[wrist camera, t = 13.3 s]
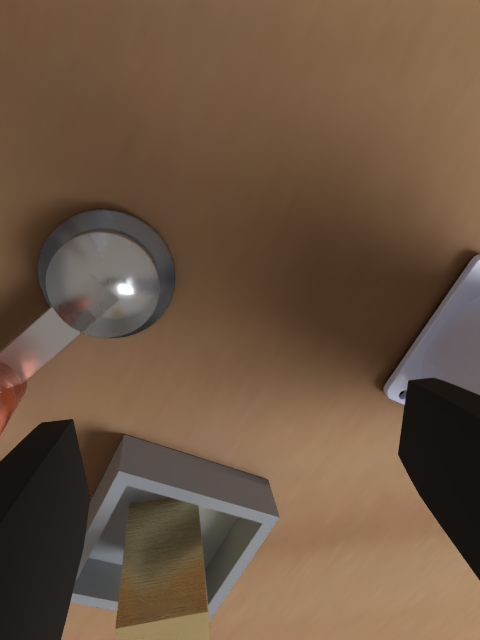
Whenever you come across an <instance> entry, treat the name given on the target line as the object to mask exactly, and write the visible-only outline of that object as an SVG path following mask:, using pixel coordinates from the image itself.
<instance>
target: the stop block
mask: <svg viewBox="0 0 480 640" xmlns="http://www.w3.org/2000/svg"><path fill="white" fill-rule="evenodd" d="M115 629H116V633H117V638H118V640H211V633H210V621H209V610H208V599H207V588H206V576H205V565H204V554H203V542H202V533H201V523H200V513H199V505H195V504H191V503H188V502H184V501H181V500H177V499H174V498H164V499H157V500H150V501H144V502H137V503H130V504H129V507H128V516H127V526H126V535H125V544H124V554H123V563H122V572H121V582H120V591H119V600H118V609H117V619H116V628H115Z"/></svg>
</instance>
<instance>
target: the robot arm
mask: <svg viewBox="0 0 480 640" xmlns="http://www.w3.org/2000/svg"><path fill="white" fill-rule="evenodd" d="M404 390H405V391H404ZM383 391H384V394H385V395H386V396H387V397H388V398H389V399H391V400H393V401H396V402H398V403H400V404H403V405H405V406H404V414H403V421H402V429H401V436H400V444H399V451H398V455H399V457H400V459H401V461H402V463H403V465H404V467H405V469H406V471H407V473H408V475H409V477H410V479H411V481H412V482H413V484H414V486H415V488H416V490H417V491H418V493H419V495H420V496H421V498H422V499H423V501H424V502H425V504H426V505H427V507H428V508H429V510H430V511H431V512H432V514H433V515H434V517H435V518H436V520H437V521H438V522H439V524H440V525H441V527H442V528H443V530H444V531H445V532H446V534H447V535H448V537H449V538H450V539H451V541H452V542H453V544H454V545H455V546H456V548H457V549H458V551H459V552H460V553H461V555H462V556H463V558H464V559H465V560H466V562H467V563H468V565H469V566H470V567H471V569H472V570H473V572H474V573H475V574H476V576H477V577H478V579H479V580H480V254H479V255H476V256H475V257H473V258H472V259H471V261H470V262H469V264H468V265H467V266H466V268H465V269H464V271H463V272H462V274H461V275H460V277H459V278H458V280H457V281H456V282H455V284H454V285H453V287H452V288H451V290H450V291H449V293H448V294H447V295H446V297H445V298H444V300H443V301H442V303H441V304H440V306H439V307H438V309H437V310H436V311H435V313H434V314H433V316H432V317H431V319H430V320H429V322H428V323H427V324H426V326H425V327H424V329H423V330H422V332H421V333H420V335H419V336H418V338H417V339H416V340H415V342H414V343H413V345H412V346H411V348H410V349H409V351H408V352H407V353H406V355H405V356H404V358H403V359H402V361H401V362H400V364H399V365H398V367H397V368H396V369H395V371H394V372H393V374H392V375H391V377H390V378H389V380H388V381H387V382H386V384H385V386H384V390H383ZM402 391H404V393H403V394H401V395H399V394H400V392H402ZM89 502H90V495H89V490H88V486H87V481H86V477H85V472H84V467H83V463H82V458H81V454H80V449H79V445H78V440H77V435H76V431H75V426H74V422H73V419H69V420H61V421H52V422H43V423H41V424H39V425H38V426H37V427H36V428H35V429H34V430H33V431H32V432H30V433H29V434H28V435H27V436H26V437H25V438H24V439H23V440H22V441H21V442H20V443H19V444H18V445H17V446H16V447H15V448H14V449H13V450H12V451H11V452H10V453H9V454H8V455H7V456H6V457H4V458H3V459H2V460H1V461H0V640H61V637H62V633H63V629H64V625H65V621H66V617H67V613H68V609H69V605H70V601H71V597H72V593H73V590H74V585H75V581H76V577H77V573H78V569H79V565H80V561H81V557H82V553H83V548H84V542H85V535H86V527H87V519H88V511H89Z"/></svg>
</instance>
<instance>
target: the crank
mask: <svg viewBox="0 0 480 640" xmlns="http://www.w3.org/2000/svg"><path fill="white" fill-rule="evenodd" d="M159 289H160V276H159V270H158V267H157V264H156V262H155V259H154V257H153V256H152V254H151V253H150V251H149V250H148V249H147V248H146V247H145V246H144V245H143V244H142V243H141V242H140V241H139V240H137V239H136V238H135V237H133V236H131V235H129V234H127V233H125V232H122V231H119V230H115V229H109V228H97V229H91V230H87V231H84V232H81V233H79V234H77V235H75V236H74V237H72V238H71V239H70V240H68V241H67V242H66V243H65V244H64V245H63V246H62V247H61V248H60V249H59V250H58V251H57V252H56V253H55V255H54V256H53V258H52V260H51V262H50V264H49V266H48V269H47V274H46V290H47V295H48V298H49V301H50V303H51V306H50V307H49V308H48V309H47V310H46V311H44V312H43V313H42V314H41V315H40V316H39V317H38V318H36V319H35V320H34V321H33V322H32V323H31V324H30V325H29V326H27V327H26V328H25V329H24V330H23V331H22V332H21V333H20V334H18V335H17V336H16V337H15V338H14V339H13V340H12V341H10V342H9V343H8V344H7V345H6V346H5V347H4V348H3V349H1V350H0V435H1V433H2V432H3V430H4V428H5V427H6V425H7V423H8V421H9V420H10V418H11V416H12V414H13V413H14V411H15V409H16V407H17V406H18V404H19V402H20V401H21V399H22V397H23V395H24V393H25V391H26V387H27V382H26V380H27V379H28V378H29V377H31V376H32V375H33V374H34V373H35V372H36V371H38V370H39V369H40V368H41V367H42V366H43V365H44V364H46V363H47V362H48V361H49V360H50V359H51V358H53V357H54V356H55V355H56V354H57V353H58V352H60V351H61V350H62V349H63V348H64V347H65V346H67V345H68V344H69V343H70V342H71V341H72V340H73V339H75V338H76V337H77V336H78V335H79V334H80V333H84V334H87V335H90V336H95V337H103V338H111V337H118V336H122V335H126V334H128V333H131V332H133V331H134V330H136V329H138V328H139V327H140V326H142V325H143V324H144V323H145V322H146V321H147V320H148V319H149V318H150V316H151V315H152V313H153V312H154V310H155V307H156V305H157V302H158V298H159Z"/></svg>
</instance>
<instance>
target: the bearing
mask: <svg viewBox="0 0 480 640" xmlns="http://www.w3.org/2000/svg"><path fill="white" fill-rule="evenodd" d="M97 228H109V229H115V230H119V231H122V232H125V233H127V234H129V235H131V236H133V237H135V238H136V239H137V240H139V241H140V242H141V243H142V244H143V245H144V246H145V247H146V248H147V249H148V250H149V251H150V253H151V254H152V256H153V257H154V259H155V262H156V264H157V267H158V270H159V276H160V289H159V298H158V302H157V305H156V307H155V310H154V312H153V313H152V315H151V316H150V318H149V319H148V320H147V321H146V322H145V323H144V324H143V325H142V326H140V327H139V328H138V329H136V330H134V331H133V332H131V333H128V334H126V335H122V336H118V337H111V338H119V337H126V336H130V335H133V334H136V333H138V332H141V331H143V330H144V329H146V328H148V327H149V326H151V325H152V324H153V323H155V322H156V321H157V320H158V319H159V318H160V317H161V316H162V314H163V313H164V312H165V310H166V309H167V307H168V305H169V303H170V301H171V298H172V295H173V291H174V285H175V269H174V263H173V259H172V256H171V253H170V251H169V249H168V246H167V245H166V243H165V241H164V240H163V238H162V237H161V236H160V235H159V233H158V232H157V231H156V230H155V229H154V228H153V227H151V226H150V225H149V224H148V223H146V222H145V221H144V220H142V219H140V218H138V217H136V216H134V215H132V214H129V213H127V212H123V211H120V210H114V209H93V210H88V211H84V212H81V213H79V214H76V215H74V216H72V217H70V218H69V219H67V220H65V221H64V222H63V223H61V224H60V225H59V226H58V227H56V228H55V230H54V231H53V232H52V233H51V234H50V235H49V237H48V238H47V240H46V241H45V243H44V245H43V247H42V250H41V253H40V256H39V262H38V278H39V284H40V287H41V291H42V293H43V295H44V298H45V300H46V301H47V303H48V305H49V306H51V303H50V301H49V298H48V295H47V290H46V274H47V269H48V266H49V264H50V262H51V260H52V258H53V256H54V255H55V253H56V252H57V251H58V250H59V249H60V248H61V247H62V246H63V245H64V244H65V243H66V242H67V241H68V240H70V239H71V238H72V237H74V236H75V235H77V234H79V233H81V232H84V231H87V230H91V229H97Z"/></svg>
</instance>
